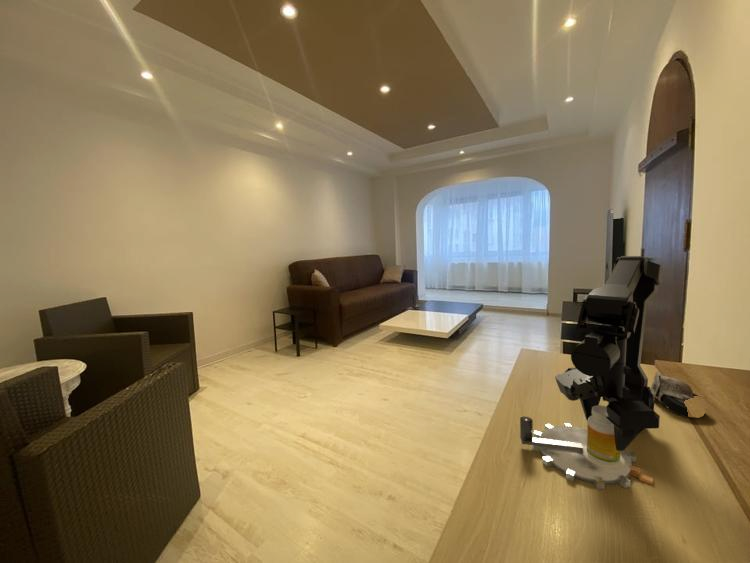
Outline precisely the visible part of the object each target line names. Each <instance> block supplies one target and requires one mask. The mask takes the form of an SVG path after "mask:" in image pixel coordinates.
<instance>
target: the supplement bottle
mask: <svg viewBox="0 0 750 563" xmlns="http://www.w3.org/2000/svg"><path fill="white" fill-rule="evenodd" d="M606 417H609V416H608V414H607V405H606V406H605V405H600V404H599V405H596V406H593V407H592V416H590V417H589V418H588V421H587V420H586V421H587V424H586V430H587V453H588V454H589V456H590V457H592V458H593V459H594V460H596V461H598V462H601V463H604V464H610V465H613V464H617V463H619V461H620V451H618V450H617V449H616V445H615V436H614V425H613V424H612V423H611V422H610V421H609V420H608V419H607V418H606Z"/></svg>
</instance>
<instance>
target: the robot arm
mask: <svg viewBox="0 0 750 563" xmlns="http://www.w3.org/2000/svg"><path fill="white" fill-rule="evenodd" d="M663 277H664V273H663V268H662V266H661V264H659V263H657V262H653V261H650V260H648V258H647V257H645V256H642V255H627V256H626V255H621V256H620V257H619V256H618V257H616V259H615V263H613V268H612V271H611V273H610V274H609V276H608V279H607V280H606V282H605V284H604V285H603V286H598V287H595V288H593V289H592V290H591V291H590V292H589V293H588V294H587V296H586V297H584V298H583V300H582V303H581V307H580V310H579V315H578V318H577V319H578V320H577V323H576V328H575V330H576V332H581V333H585V335H584V340H582V341H581V342H580V343H578V344H576V345H575V347H574V348H572V352H571V353H570V360H571V362H572V365H573V366H574V367H568V368H567V369H566V370H565V371H564V372H562V373H559V374H557V375H556V376H554V379H555V382H556V384H557V387H558V389H559V392H560V393H561V394H563V396H565V397H566V399H567V400H569V401H571V402H572V401H573V402H574V401H580V404H581V407H582V412H583V414H584V417H585V420H586V421H588V418H589V417H590V416H592V407H593V406H596V405H600V402H601V398H602V401H603V402H607V404H606V407H607V414H608V416H609V417H606V418H607V419H608V420H609V421H610V422H611V423H612V424H613V425H614V436H615V445H616V449H617V450H618V451H626V449H627V447H628V446H629V445H630V444H631V443H632V442H633V441H634V440H635V439H636V438H637V437H638V435H639V434H641V433H642V432H643V431H644V430H646V429H647V430H650V429H659V428H660V420H661V419H660V418H661V415H660V414H658V413H657V412H656V411H655V399H654V396H653V394H652V393H651V386H648V384H649V382H648V381H649V378H648V377H647V374H646V373H645V371H644V369H643V367H642V366H641V361H642V352H643V343H644V335H645V333H644V332H645V326H646V316H647V310H648V309H647V307H648V303H649V302H650V301H651V300H652V299H653V298H654V297H655V296H656V295H657V294H658V290H659V286H662V284H663ZM586 321H587V322H586Z"/></svg>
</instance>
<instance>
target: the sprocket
mask: <svg viewBox="0 0 750 563" xmlns="http://www.w3.org/2000/svg"><path fill="white" fill-rule="evenodd" d="M533 422H534V421H533V419H532V418H531V417H529V416H521V417H520V419H519V423H520V424H519V425H520V426H519V429H520V432H519V433H520V434H519V435H520V436H519V438H520V442H521V444H522V445H527V446H528V445H529V446H532V450H533V452H539V453H540V454H541V456H542V464H543V465H544V466H545V467H547V468H548V467H552V466H553V467H554V468H556V469H557V470H558V471H560V472H562V473H564V474H565V479H566V480H568V481H570V482H574V481H575V479H577V480H581V481H584V482H587V483H588V482H589V483H591V484H594V485H595V487H596V489H599V490H605V489H606V485H615V484H619V485H620V486H621V487H622V488H624V489H627V488H630V487H631V482H632V481H631V480H630V479H629V478H630V476H632V477H633V476H634V477H635V478H638V479H639V477H640V473H641V468H640V467H637V466H634V465H633V464H632V462H633V463H636V462H637V456H636V454H635V453H634V452H631V451H626V450H624V451H620V461H619V463H617V464H613V465H610V464H604V463H601V462H598V461H596V460H594V459H593V458H592V457H590V456H589V454H588V453H587V428H581V427H578V426H577V427H576V426H572V424H571V423H569V422H564V423H563V424H564V425H557V426H553V425H552V424H550V423H547V424H545V425H544V430H542V432H541V431H538V430H533V424H534V423H533Z"/></svg>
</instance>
